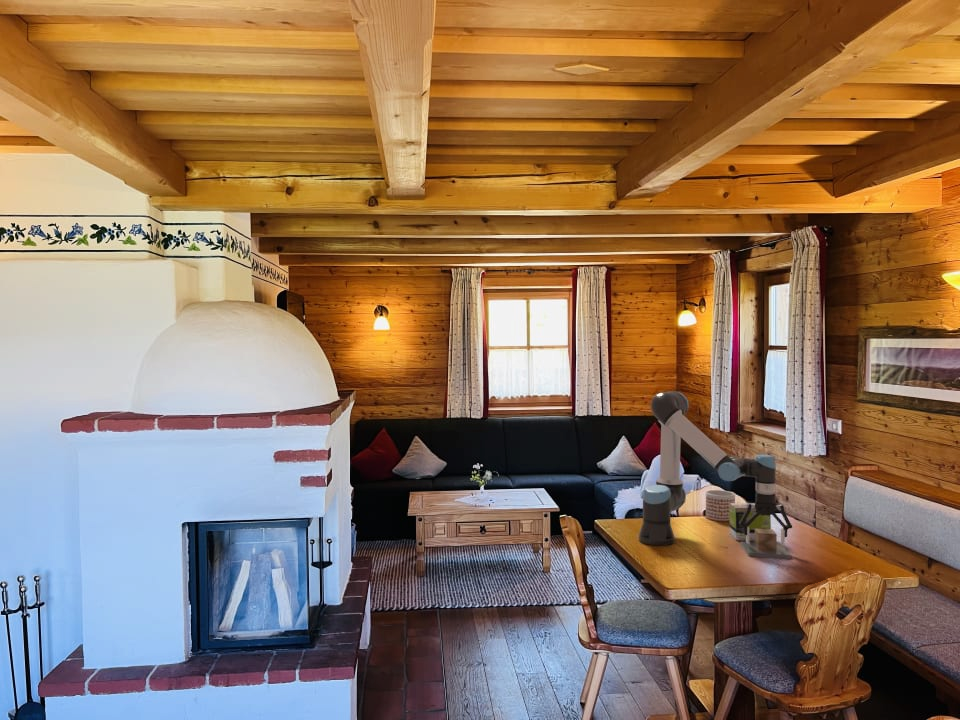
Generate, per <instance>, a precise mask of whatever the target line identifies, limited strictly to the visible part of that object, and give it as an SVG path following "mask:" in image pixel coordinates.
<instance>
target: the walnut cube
mask: <svg viewBox="0 0 960 720" xmlns="http://www.w3.org/2000/svg"><path fill="white" fill-rule="evenodd" d="M777 535H778V534H777V532H775V530H773V529H772V528H771V529H755V541H754V542H755V546H756V548H757V549H758V550H765V551H777V542H778V540H777V537H778V536H777Z"/></svg>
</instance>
